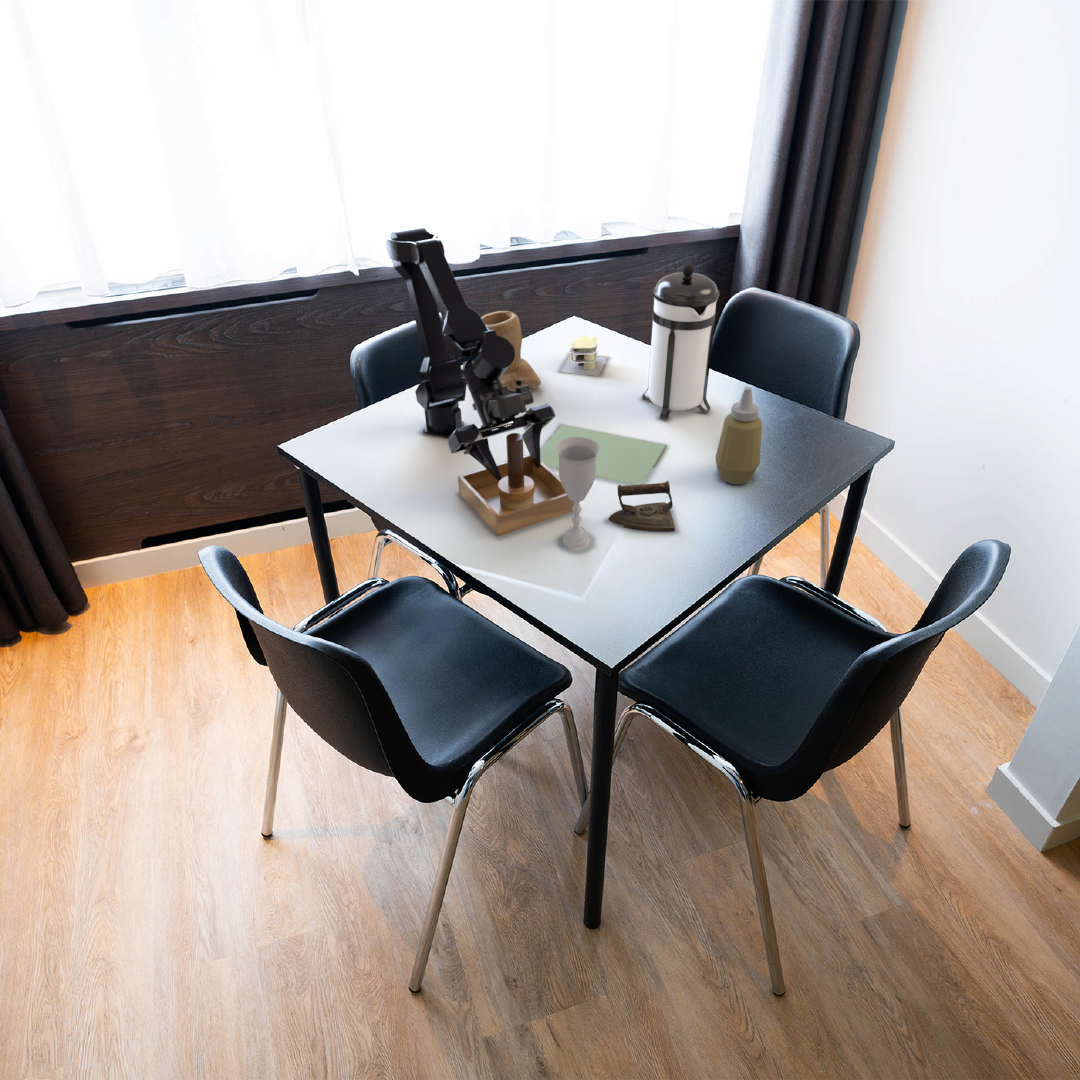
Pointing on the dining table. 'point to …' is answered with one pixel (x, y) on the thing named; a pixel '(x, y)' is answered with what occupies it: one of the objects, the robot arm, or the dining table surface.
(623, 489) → the clothes iron
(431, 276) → the robot arm
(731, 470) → the squeeze bottle
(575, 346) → the stacked layers on plate
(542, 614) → the dining table surface
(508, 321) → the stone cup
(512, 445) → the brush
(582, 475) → the chalice
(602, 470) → the mat
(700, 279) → the coffee press
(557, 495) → the tray
